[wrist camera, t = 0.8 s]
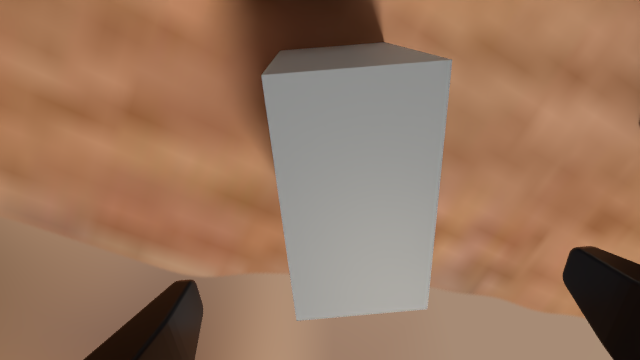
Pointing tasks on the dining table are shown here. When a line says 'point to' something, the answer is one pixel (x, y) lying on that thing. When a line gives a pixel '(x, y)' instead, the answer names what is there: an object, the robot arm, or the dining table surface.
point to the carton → (358, 173)
